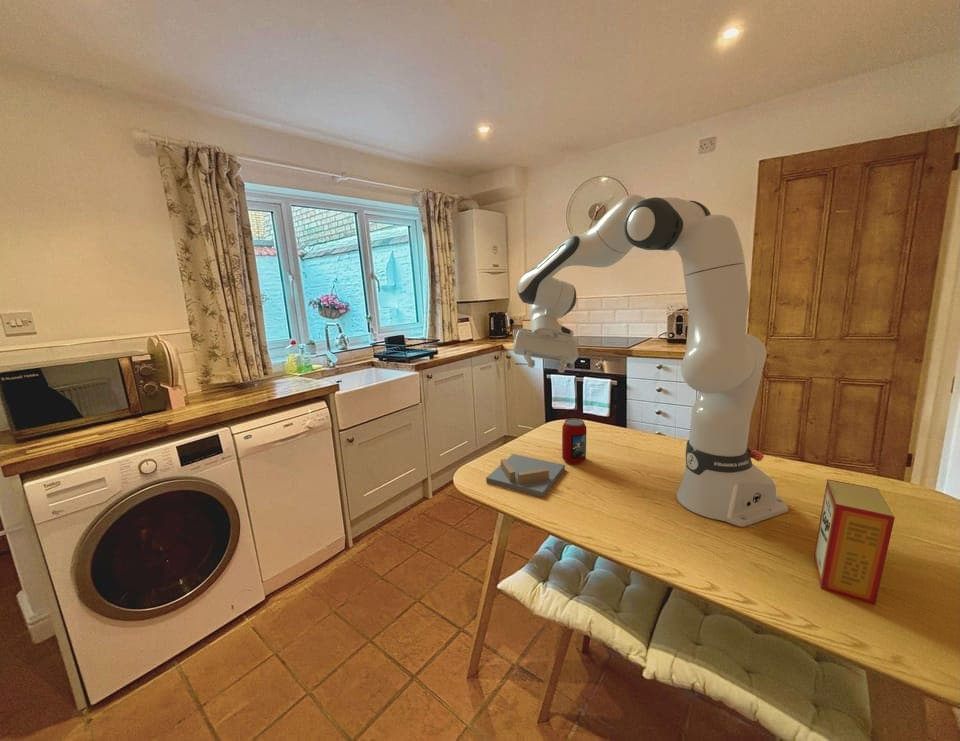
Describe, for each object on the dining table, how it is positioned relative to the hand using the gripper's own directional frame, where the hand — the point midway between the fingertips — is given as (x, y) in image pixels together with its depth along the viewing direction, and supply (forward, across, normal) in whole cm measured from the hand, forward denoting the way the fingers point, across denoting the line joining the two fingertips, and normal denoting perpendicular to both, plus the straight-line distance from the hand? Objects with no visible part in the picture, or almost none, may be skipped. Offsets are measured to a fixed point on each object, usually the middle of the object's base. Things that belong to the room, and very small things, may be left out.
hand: (546, 368), depth 116 cm
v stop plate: (+30, -4, +10) cm, 32 cm away
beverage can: (+23, +11, +12) cm, 28 cm away
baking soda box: (+56, +39, -30) cm, 74 cm away
